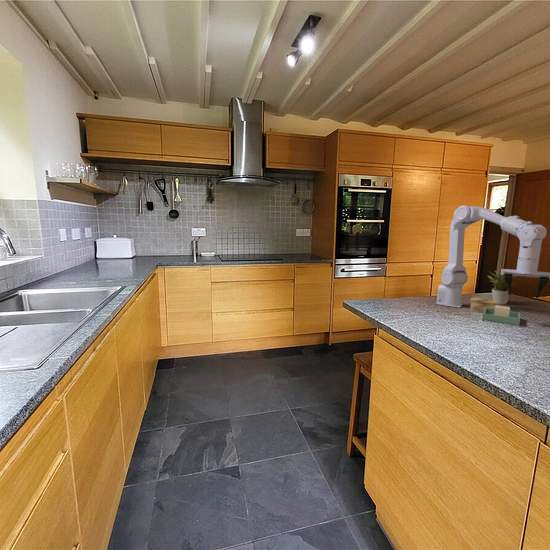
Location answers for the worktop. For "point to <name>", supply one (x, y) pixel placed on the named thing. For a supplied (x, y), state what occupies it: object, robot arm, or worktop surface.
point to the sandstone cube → (502, 311)
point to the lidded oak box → (482, 304)
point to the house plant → (500, 289)
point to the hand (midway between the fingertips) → (522, 296)
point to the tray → (501, 317)
